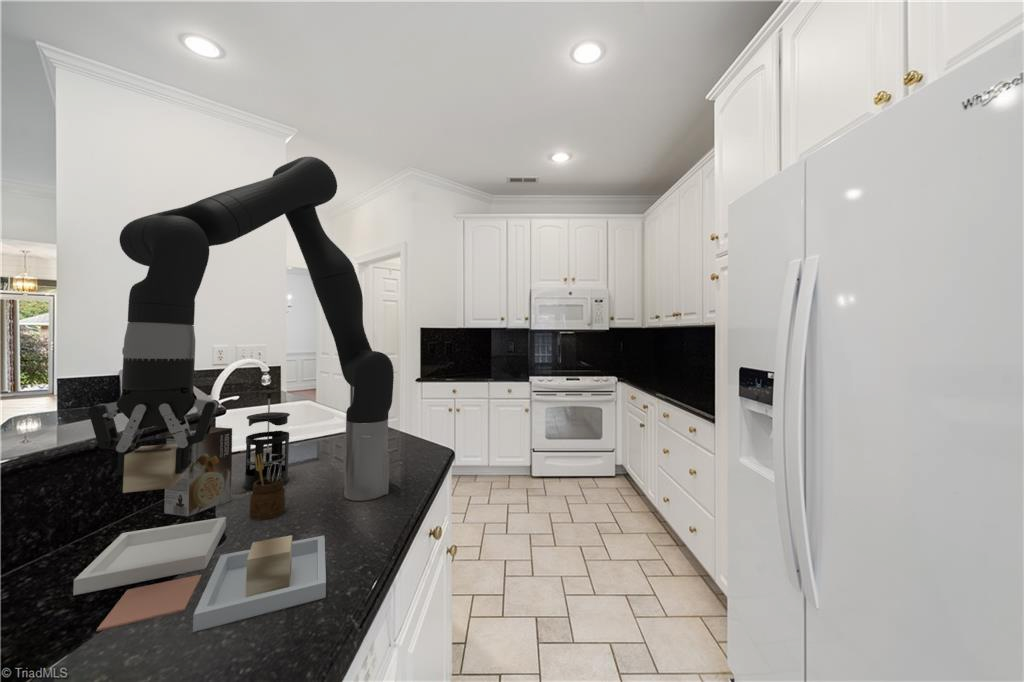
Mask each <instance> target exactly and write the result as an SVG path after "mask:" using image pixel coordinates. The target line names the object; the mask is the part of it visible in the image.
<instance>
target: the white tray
mask: <svg viewBox="0 0 1024 682" xmlns="http://www.w3.org/2000/svg"><path fill="white" fill-rule="evenodd" d="M226 527H227V516H225V517H216V518H211V519H204V520H203V519H202V520H199V521H192V522H184V523H179V524H172V525H167V526H166V525H165V526H159V527H154V528H153V527H151V528H148V529H141V530H140V529H139V530H133V531H128V532H122V533H120V534H119V536H118V537H116V538H115V539H114V540H113V541H112V543H111V544H110V545H108V546H106V548H105V549H104V550H103V551H102V552H101V553H100V554H99V555H98V556H97V557H96V558H95V559H94V560H93V561H92V562H91V563H89V564H88V565H87V567H86V568H84V569H83V571H82V572H80V573H79V574H78V576H76V577H75V578H74V579H73V592H72V593H73V594H72V595H73V596H77V595H82V594H87V593H91V592H92V593H93V592H97V591H102V590H107V589H112V588H116V587H122V586H127V585H131V584H137V583H141V582H146V581H147V582H148V581H151V580H157V579H162V578H166V577H171V576H172V577H173V576H176V575H180V574H186V573H191V572H197V571H201V570H206V569H207V566H208V565H209V562H210V560H211V558H212V556H213V555H214V552H215V551H216V549H217V547H218V545H219V542H221V539H222V536H223V535H224V533H225V531H226V529H227V528H226Z"/></svg>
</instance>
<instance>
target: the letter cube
mask: <svg viewBox="0 0 1024 682" xmlns="http://www.w3.org/2000/svg"><path fill="white" fill-rule="evenodd" d="M177 448H178V445H177V444H169V445H166V443H163V444H158V445H157V444H155V445H141V446H139V447H138V448H135V449H136V450H134V451H133V452H131V453H128V454H126V455H125V456H124V477H123V476H122V494H125V493H134V492H143V491H153V490H154V491H155V490H163V489H164V490H165V488H171V487H173V486H174V485H175V484H176V483H177V482H178V481H179V480H181V479H182V478H183V477H184V472H183V473H182V474H175V466H176V449H177Z"/></svg>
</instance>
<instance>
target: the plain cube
mask: <svg viewBox="0 0 1024 682" xmlns="http://www.w3.org/2000/svg"><path fill="white" fill-rule="evenodd" d="M292 541H293V535H287V536H285V535H284V536H281V537H277V538H276V537H275V538H271V539H264V540H260V541H253V542H252V544H251V546H250V549H249V550H250V552H249V555H248V558H247V575H246V597H250V596H254V595H258V594H262V593H266V592H270V591H275V590H279V589H283V588H287V587H289V585H290V576H291V567H292Z"/></svg>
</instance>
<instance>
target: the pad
mask: <svg viewBox="0 0 1024 682" xmlns="http://www.w3.org/2000/svg"><path fill="white" fill-rule="evenodd" d="M202 577H203V576H202V574H196V575H192V576H188V577H187V576H186V577H183V578H178V579H174V580H168V581H163V582H159V583H153V584H149V585H148V584H147V585H144V586H143V585H142V586H138V587H133V588H130V589H129V588H128V589H126V591H125V592H124V594H123V595H122V596H121V597H120V599H119V600H118V601H117V602H116V604H115V605H114V607H112V609H111V611H110V612H109V613H108V614H107V616H106V617H105V618H104V619H103V620H102V622H101V623H100V624H99V626H98V627H97V628H96V632H100V631H105V630H109V629H112V628H118V627H122V626H125V625H130V624H133V623H137V622H138V623H139V622H143V621H146V620H150V619H154V618H159V617H163V616H168V615H172V614H176V613H181V612H184V611H185V610H186V608H187V606H188V605H189V603H190V601H191V599H192V596H193V594H194V592H195V590H196V588H197V587H198V585H199V582H200V580H201V578H202Z"/></svg>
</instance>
